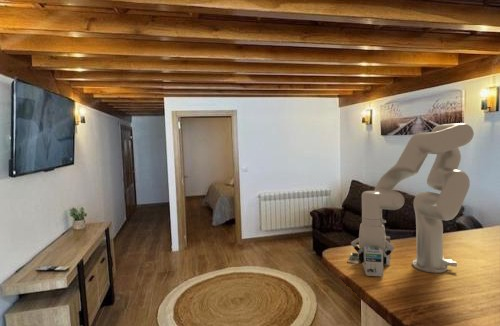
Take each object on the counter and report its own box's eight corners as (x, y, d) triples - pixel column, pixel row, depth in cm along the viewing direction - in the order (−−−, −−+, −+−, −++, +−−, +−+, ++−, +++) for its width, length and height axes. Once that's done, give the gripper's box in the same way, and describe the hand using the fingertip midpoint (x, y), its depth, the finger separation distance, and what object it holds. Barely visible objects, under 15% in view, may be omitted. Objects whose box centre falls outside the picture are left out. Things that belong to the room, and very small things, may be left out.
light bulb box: (383, 277, 118) (383, 250, 117) (365, 275, 119) (365, 249, 119) (378, 265, 128) (378, 241, 127) (362, 265, 130) (361, 240, 129)
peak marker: (358, 254, 140) (358, 253, 140) (357, 255, 139) (357, 253, 139) (352, 254, 142) (352, 252, 141) (352, 254, 141) (352, 253, 141)
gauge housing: (390, 257, 138) (390, 236, 137) (389, 268, 127) (389, 245, 126) (351, 253, 145) (351, 232, 144) (347, 262, 134) (347, 240, 134)
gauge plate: (389, 264, 130) (389, 243, 129) (389, 265, 129) (389, 244, 128) (349, 259, 137) (349, 239, 137) (349, 260, 136) (349, 240, 136)
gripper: (395, 221, 122) (396, 263, 123) (350, 217, 129) (351, 257, 131) (395, 226, 115) (395, 270, 116) (348, 222, 123) (349, 264, 124)
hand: (372, 263), depth 123 cm, fingers closed on light bulb box, 7 cm apart
